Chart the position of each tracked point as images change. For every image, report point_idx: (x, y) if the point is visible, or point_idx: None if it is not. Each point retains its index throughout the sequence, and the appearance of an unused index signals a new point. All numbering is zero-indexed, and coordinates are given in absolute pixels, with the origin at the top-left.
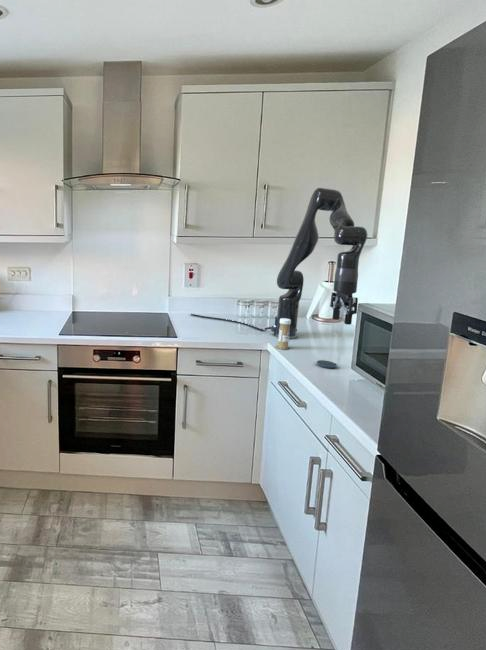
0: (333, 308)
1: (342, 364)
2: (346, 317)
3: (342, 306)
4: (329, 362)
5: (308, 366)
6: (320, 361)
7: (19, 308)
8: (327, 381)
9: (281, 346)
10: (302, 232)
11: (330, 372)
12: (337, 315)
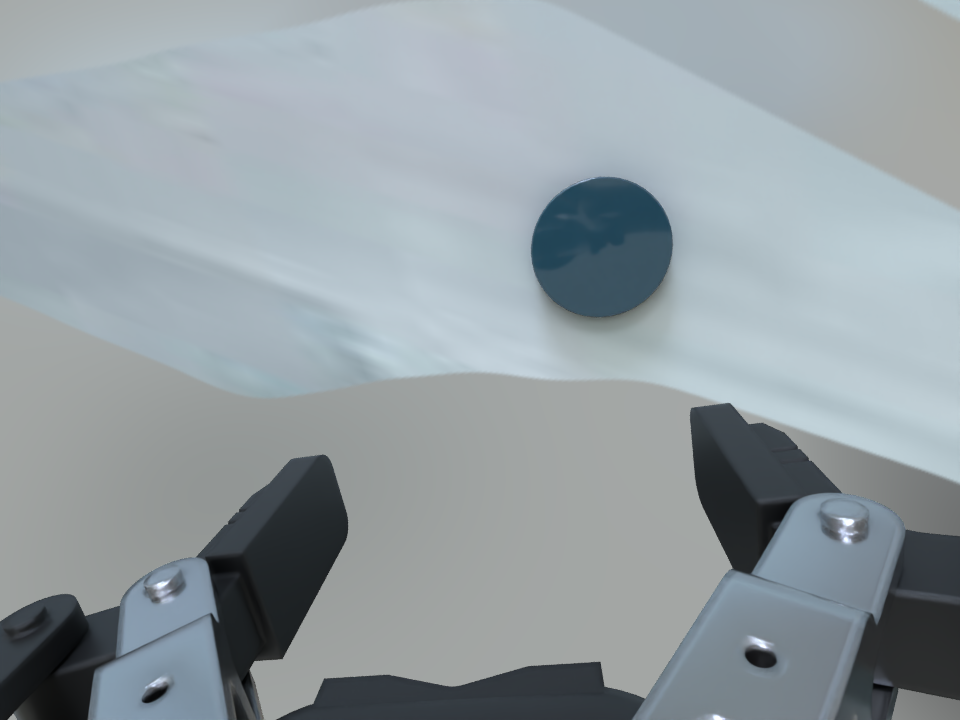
0: (814, 517)
1: (668, 377)
2: (243, 527)
3: (200, 655)
4: (624, 277)
5: (553, 97)
6: (635, 212)
7: None
8: (261, 156)
9: None
10: None
11: (457, 233)
12: (717, 507)
